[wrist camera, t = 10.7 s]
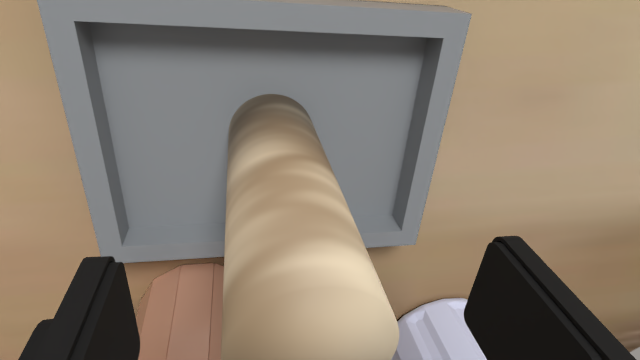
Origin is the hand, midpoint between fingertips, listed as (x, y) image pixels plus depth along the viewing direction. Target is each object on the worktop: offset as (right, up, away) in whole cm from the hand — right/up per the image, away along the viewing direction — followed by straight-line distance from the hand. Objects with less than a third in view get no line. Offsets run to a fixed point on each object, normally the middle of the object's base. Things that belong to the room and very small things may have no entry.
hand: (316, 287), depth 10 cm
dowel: (-2, +5, +9) cm, 10 cm away
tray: (-2, +5, +10) cm, 11 cm away
